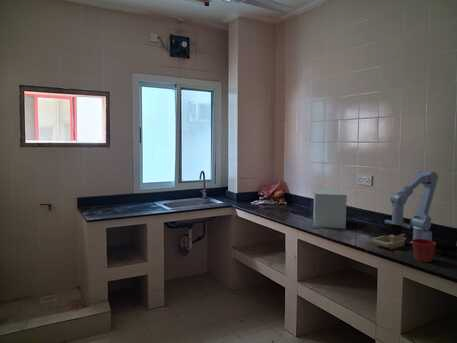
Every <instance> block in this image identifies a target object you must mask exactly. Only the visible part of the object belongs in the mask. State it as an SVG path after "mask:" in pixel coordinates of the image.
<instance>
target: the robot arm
mask: <svg viewBox="0 0 457 343" xmlns="http://www.w3.org/2000/svg"><path fill="white" fill-rule="evenodd" d="M438 179H439V175H438V174H437V172H436V171H426V170H418V171H417V173H416V174H415V177H414V178H413V180H412V181H411V182H410V183H409V184H408V185H403V187H402V188H401V189H400V190H398V192H397V193H394V194H392V195H391V198H390V203H391V206H392V213H391V215H392V216H391V220H390V219H384V224H386V225H387V224H388V225H390V228H391V229H392V232H393V235H394V236H397V235H400V234H401V232H402V230H403V228H406V229H411V228H412V229H413V230H412V240H413V239H426V240H431V241H433V240H432V238H433V232H432V231H431V230H430V228H431V226H432V218H431V217H430V215H429V213H430V208H431V205H432V201H433V198H434V193H435V191H436V190H435V189H436V188H437V183H438ZM419 185H422V186H423V187H424V190H423V192H422V196H421V199H420V202H419V203H420V204H419V207H418V211H417V212H415V213H414V214H413V216H412V218H411V219H410V223H407V222H404V207H405V204H406V203H407V201H408V199H409V197H410V196H412V195H413V193H414V190H415V189H416V188H417V187H418V186H419ZM412 240H411V241H409V243H410V244H412Z"/></svg>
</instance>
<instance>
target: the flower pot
mask: <svg viewBox="0 0 457 343" xmlns="http://www.w3.org/2000/svg"><path fill="white" fill-rule="evenodd" d="M411 241H412V243H411V244H412V250H413V256H414V259H415V260H416V261H419V262H423V263H430V262H432V261H433V258H434V254H435V251H436V250H435V249H436V246H437V242H435V241H433V240H432V241H431V240H426V239H413V238H412V240H411Z"/></svg>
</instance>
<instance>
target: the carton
mask: <svg viewBox="0 0 457 343" xmlns="http://www.w3.org/2000/svg"><path fill="white" fill-rule="evenodd" d="M384 236H385V237H382V238H378V239H374V240H370V241H371V242H373V245H375V246H378V247H381V248H385V249H390V250H393V249H397V248H400V247H404V246H405V240H407V237H404V240H402V241H399V242H395V243H392V241H393V236H394V234H390V235H384Z"/></svg>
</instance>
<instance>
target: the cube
mask: <svg viewBox="0 0 457 343" xmlns="http://www.w3.org/2000/svg"><path fill="white" fill-rule="evenodd" d="M347 198H348V195H347V193H346V192H345V191H344V190H343V189H322V188H321V189H318V188H317V189H313V214H312V216H313V217H312V218H313V219H312V220H313V225H314V228H326V227H327V228H328V229H329V228H330V229H346V227H347V226H346V224H347Z"/></svg>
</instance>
